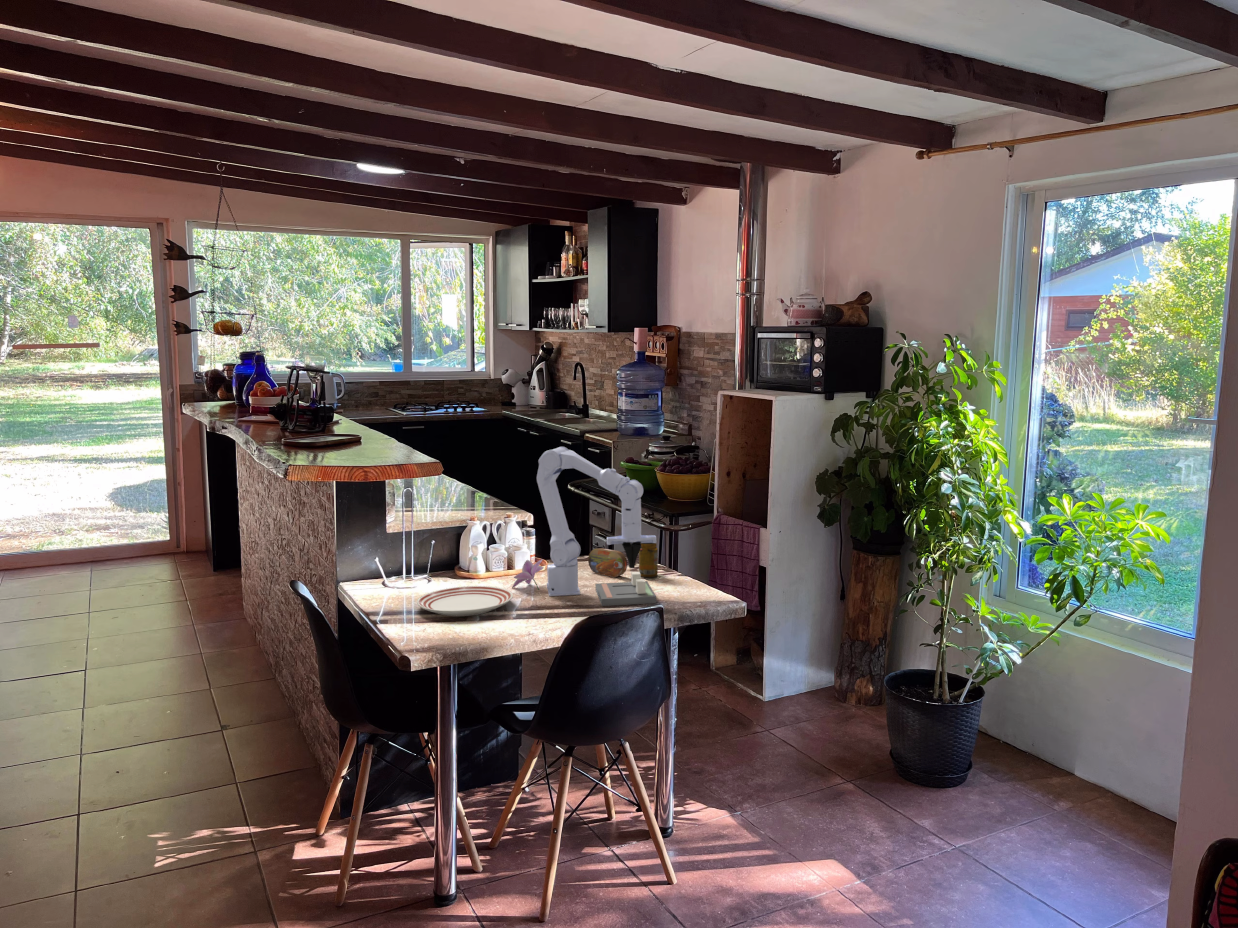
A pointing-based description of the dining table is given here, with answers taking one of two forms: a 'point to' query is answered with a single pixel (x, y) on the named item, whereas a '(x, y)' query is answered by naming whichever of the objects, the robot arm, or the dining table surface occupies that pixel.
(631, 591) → the grey board
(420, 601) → the dinner plate
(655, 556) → the condiment
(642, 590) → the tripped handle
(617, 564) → the tin
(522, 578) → the lily
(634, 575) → the handle
